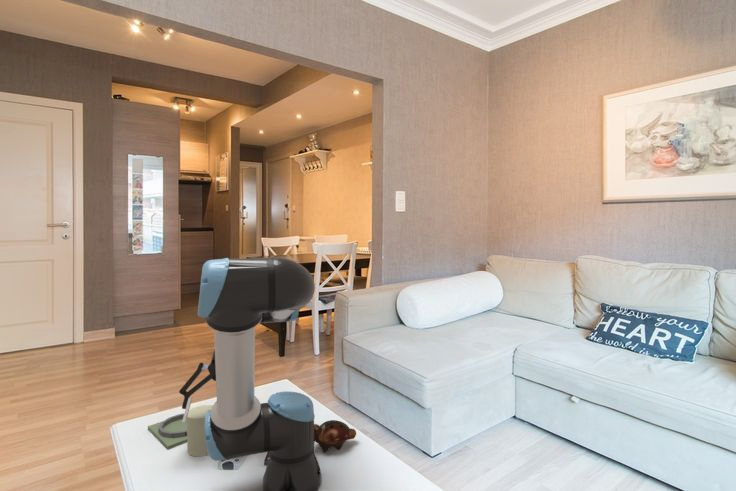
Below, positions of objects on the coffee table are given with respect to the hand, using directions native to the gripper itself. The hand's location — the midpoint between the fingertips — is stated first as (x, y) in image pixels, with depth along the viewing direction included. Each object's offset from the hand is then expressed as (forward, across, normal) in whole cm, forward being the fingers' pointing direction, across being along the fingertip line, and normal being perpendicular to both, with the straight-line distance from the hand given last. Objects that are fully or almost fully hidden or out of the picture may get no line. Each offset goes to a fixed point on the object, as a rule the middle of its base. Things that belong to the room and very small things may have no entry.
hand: (208, 424), depth 115 cm
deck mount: (+4, +9, -25) cm, 27 cm away
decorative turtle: (+2, -37, -1) cm, 37 cm away
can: (+7, 0, -12) cm, 14 cm away
